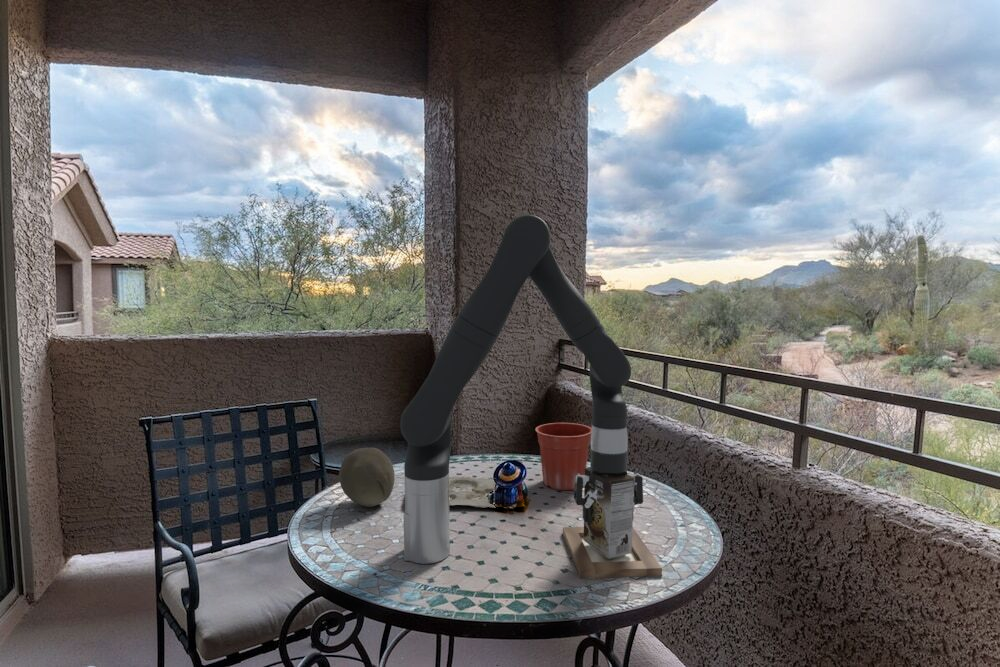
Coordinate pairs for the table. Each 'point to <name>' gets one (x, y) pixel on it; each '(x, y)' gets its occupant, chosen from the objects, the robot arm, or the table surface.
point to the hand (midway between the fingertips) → (607, 523)
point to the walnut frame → (599, 566)
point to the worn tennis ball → (367, 476)
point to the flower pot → (563, 453)
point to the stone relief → (464, 497)
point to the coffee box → (611, 514)
